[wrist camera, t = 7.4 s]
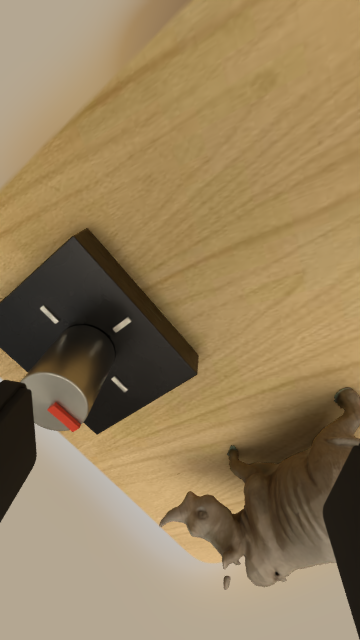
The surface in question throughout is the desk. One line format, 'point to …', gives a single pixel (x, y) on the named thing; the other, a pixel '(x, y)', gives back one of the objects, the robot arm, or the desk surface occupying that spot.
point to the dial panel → (97, 327)
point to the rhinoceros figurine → (277, 505)
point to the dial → (69, 377)
